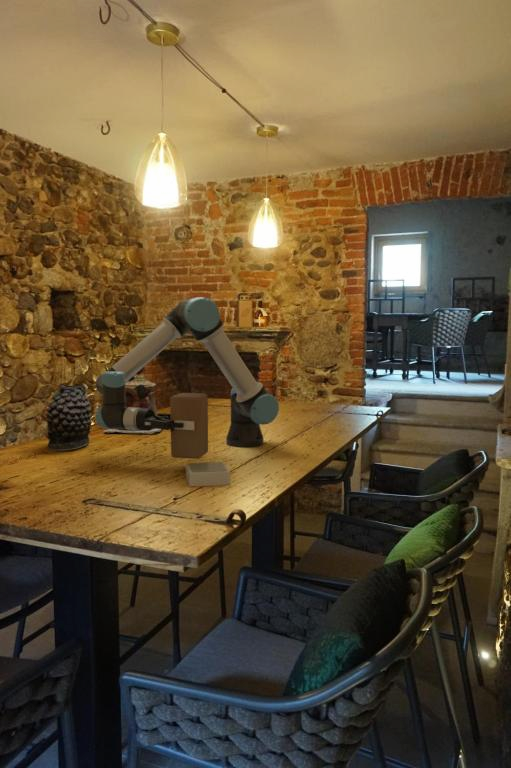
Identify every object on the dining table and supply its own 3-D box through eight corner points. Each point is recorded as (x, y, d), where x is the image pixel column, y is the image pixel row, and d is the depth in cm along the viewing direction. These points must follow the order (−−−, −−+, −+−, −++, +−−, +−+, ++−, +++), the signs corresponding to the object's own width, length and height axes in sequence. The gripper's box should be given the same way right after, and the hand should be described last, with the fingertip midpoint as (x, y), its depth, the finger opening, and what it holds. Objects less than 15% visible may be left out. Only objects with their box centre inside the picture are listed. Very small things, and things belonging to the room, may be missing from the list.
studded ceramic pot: (67, 440, 225) (65, 379, 222) (101, 442, 221) (100, 380, 219) (36, 451, 204) (34, 384, 202) (73, 454, 201) (71, 386, 198)
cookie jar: (117, 424, 263) (116, 357, 260) (168, 425, 263) (168, 358, 259) (101, 434, 239) (100, 360, 236) (158, 435, 238) (157, 361, 235)
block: (200, 459, 174) (199, 397, 172) (170, 458, 176) (168, 396, 174) (209, 452, 184) (208, 393, 182) (180, 451, 186) (179, 392, 184)
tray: (223, 474, 176) (223, 461, 176) (230, 484, 165) (230, 471, 164) (185, 475, 174) (185, 463, 173) (189, 486, 162) (189, 473, 162)
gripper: (156, 424, 196) (214, 427, 189) (122, 436, 174) (186, 441, 167) (156, 403, 195) (214, 405, 188) (121, 413, 173) (185, 416, 167)
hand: (201, 422), depth 178 cm, fingers closed on block, 11 cm apart
